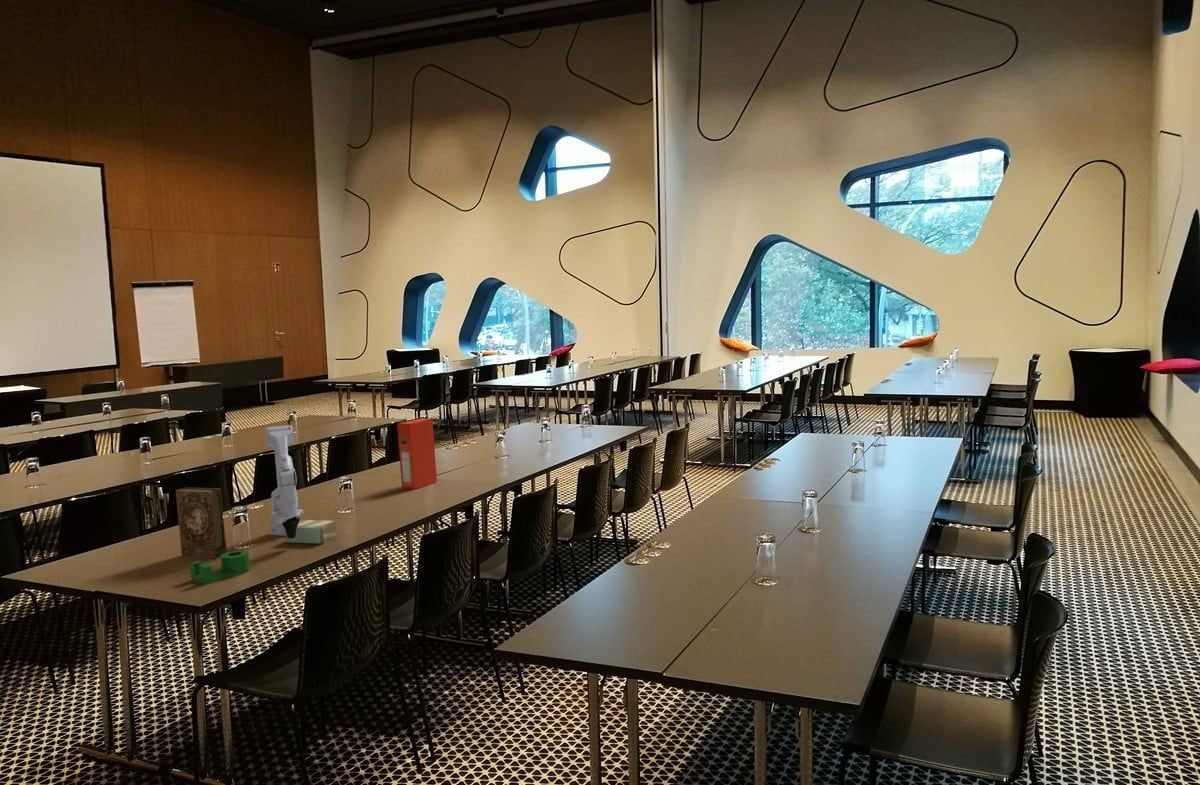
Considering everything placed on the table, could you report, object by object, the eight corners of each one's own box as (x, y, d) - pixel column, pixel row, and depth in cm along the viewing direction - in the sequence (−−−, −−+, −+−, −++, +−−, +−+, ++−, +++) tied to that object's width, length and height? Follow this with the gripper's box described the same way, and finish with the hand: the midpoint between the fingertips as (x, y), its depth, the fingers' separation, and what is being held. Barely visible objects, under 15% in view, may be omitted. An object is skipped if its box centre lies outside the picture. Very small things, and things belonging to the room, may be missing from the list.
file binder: (401, 488, 430) (397, 423, 426) (424, 481, 445) (420, 418, 442) (414, 489, 426) (410, 424, 423) (436, 482, 442) (432, 418, 438)
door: (284, 542, 339) (282, 527, 339) (287, 541, 341) (286, 526, 341) (320, 544, 335) (318, 528, 334) (323, 542, 337) (321, 527, 336)
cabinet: (287, 542, 342) (285, 525, 341) (300, 535, 350) (299, 519, 349) (323, 543, 337) (322, 526, 337) (336, 537, 346) (335, 520, 345)
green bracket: (241, 566, 313) (239, 548, 312) (255, 570, 307) (253, 552, 307) (191, 580, 299) (189, 562, 298) (205, 585, 294) (203, 566, 293)
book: (179, 557, 328) (172, 490, 325) (190, 552, 333) (183, 487, 330) (216, 558, 323) (210, 491, 320) (227, 554, 328) (220, 488, 325)
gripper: (286, 507, 323) (289, 543, 325) (309, 498, 337) (312, 532, 339) (269, 507, 325) (273, 543, 326) (292, 497, 339) (295, 532, 340)
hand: (291, 537), depth 333 cm, fingers closed
